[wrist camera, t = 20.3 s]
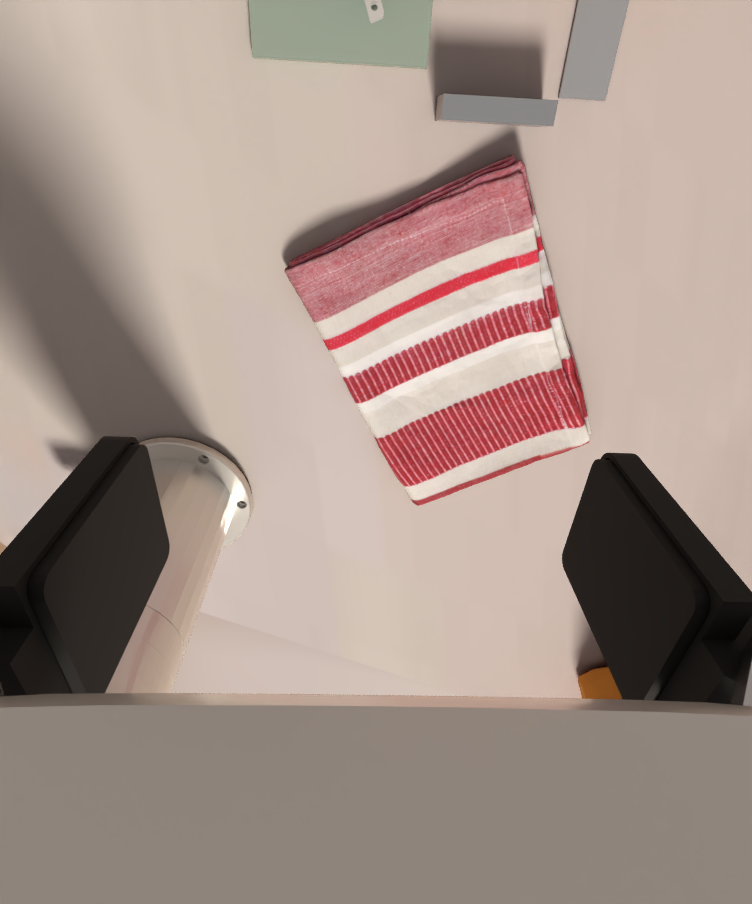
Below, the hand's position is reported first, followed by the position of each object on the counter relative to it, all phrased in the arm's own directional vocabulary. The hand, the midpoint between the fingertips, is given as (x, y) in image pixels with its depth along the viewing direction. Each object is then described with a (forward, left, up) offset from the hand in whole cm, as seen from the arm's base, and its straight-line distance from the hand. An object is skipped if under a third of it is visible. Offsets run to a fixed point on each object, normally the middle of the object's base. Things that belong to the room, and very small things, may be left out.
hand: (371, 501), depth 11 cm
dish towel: (+7, -8, -29) cm, 31 cm away
